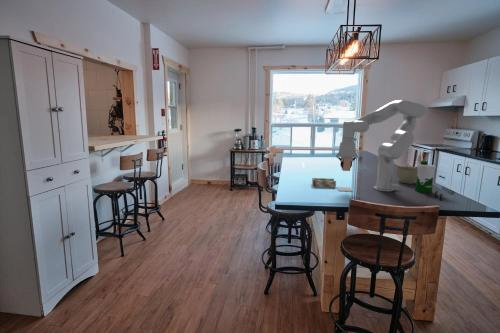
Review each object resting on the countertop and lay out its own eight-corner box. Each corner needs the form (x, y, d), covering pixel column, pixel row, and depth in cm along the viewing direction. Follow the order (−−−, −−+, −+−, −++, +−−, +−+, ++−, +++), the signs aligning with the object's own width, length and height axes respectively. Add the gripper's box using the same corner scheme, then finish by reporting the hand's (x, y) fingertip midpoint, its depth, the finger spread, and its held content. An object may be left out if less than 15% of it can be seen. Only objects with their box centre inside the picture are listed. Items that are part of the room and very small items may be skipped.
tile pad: (349, 188, 201) (349, 187, 200) (353, 191, 192) (353, 190, 192) (336, 187, 201) (336, 186, 201) (339, 191, 193) (339, 190, 193)
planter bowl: (418, 186, 209) (419, 171, 207) (393, 182, 218) (394, 168, 216) (419, 181, 222) (421, 167, 220) (396, 179, 231) (397, 165, 229)
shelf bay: (333, 184, 210) (333, 178, 209) (335, 187, 202) (336, 181, 201) (312, 183, 211) (312, 177, 211) (313, 186, 203) (313, 180, 202)
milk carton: (423, 189, 200) (426, 160, 197) (434, 192, 192) (438, 162, 188) (412, 190, 198) (416, 161, 194) (423, 193, 189) (427, 163, 186)
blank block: (348, 169, 196) (349, 156, 195) (350, 171, 192) (351, 157, 190) (341, 169, 197) (342, 156, 195) (343, 170, 192) (344, 157, 191)
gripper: (359, 139, 194) (357, 166, 197) (333, 139, 195) (332, 166, 199) (363, 140, 186) (360, 169, 190) (335, 140, 188) (334, 168, 191)
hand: (346, 167), depth 194 cm, fingers closed on blank block, 4 cm apart
